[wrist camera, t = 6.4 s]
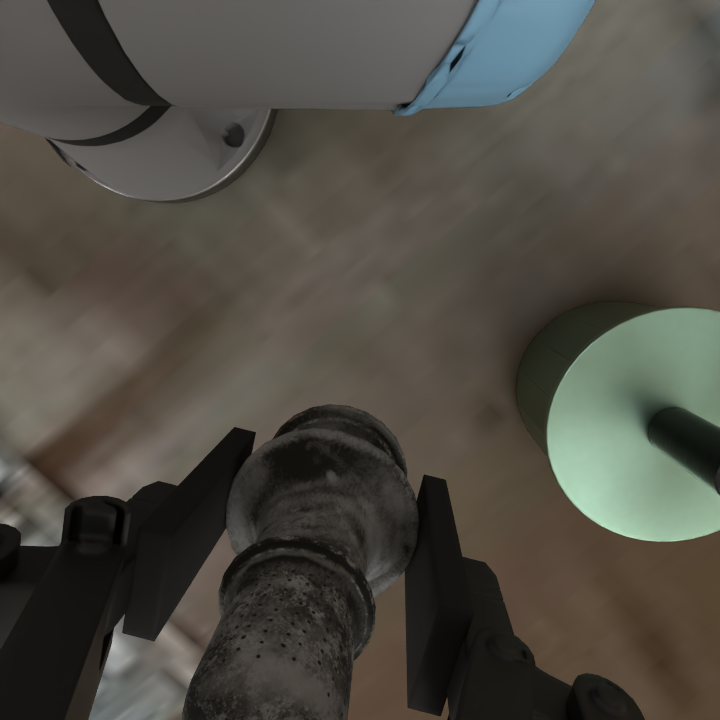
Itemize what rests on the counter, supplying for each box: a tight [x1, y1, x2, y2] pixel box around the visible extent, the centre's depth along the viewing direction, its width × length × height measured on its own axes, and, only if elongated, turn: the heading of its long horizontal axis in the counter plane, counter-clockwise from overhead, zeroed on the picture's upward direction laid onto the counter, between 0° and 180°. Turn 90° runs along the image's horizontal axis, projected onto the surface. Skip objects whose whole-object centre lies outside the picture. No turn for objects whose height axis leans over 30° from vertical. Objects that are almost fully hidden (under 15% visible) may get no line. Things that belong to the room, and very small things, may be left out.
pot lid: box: [544, 306, 720, 541], centre depth 23 cm, size 12×12×7 cm
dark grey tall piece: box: [182, 404, 419, 720], centre depth 13 cm, size 6×6×12 cm
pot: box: [516, 302, 660, 456], centre depth 30 cm, size 11×11×8 cm
